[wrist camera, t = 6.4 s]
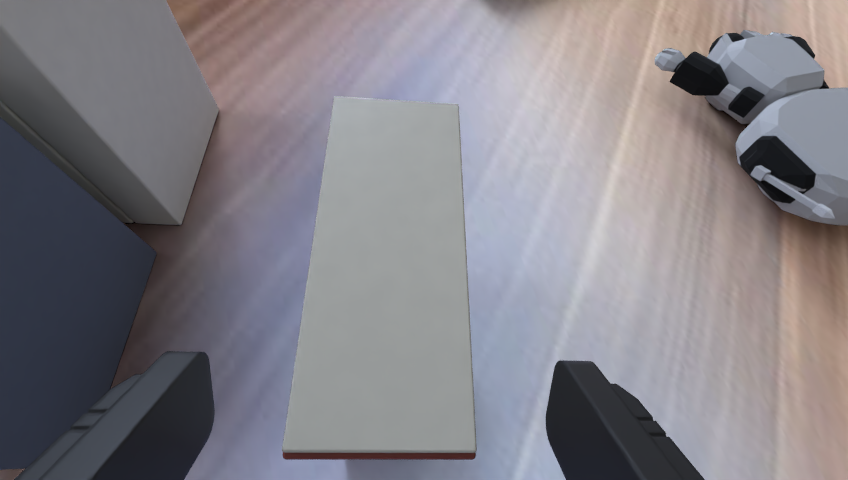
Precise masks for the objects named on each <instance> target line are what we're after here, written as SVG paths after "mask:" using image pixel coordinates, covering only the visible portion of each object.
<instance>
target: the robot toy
mask: <svg viewBox="0 0 848 480" xmlns="http://www.w3.org/2000/svg"><path fill="white" fill-rule="evenodd" d="M814 57H815V54H814V53H813V51H812V50H811V48H810V47H809V45H808V44H807V42H806V41H805V40H804V39H802V38H801V37H795V36H792V35H790V34H782V33H781V34H779V33H775V32H772V33H770V34H769V35H762V34H760V33H758V32H754V31H747V30H743V32H742V33H741V34H740V35H739V34H737V33H726V34H724V35H722V36H721V37H719V38H717V39H716V40H715V41H714V42H713V43H712V45H711V47H710V50H709V55H708V56H707V57H705V56H703V55H701V54H699V53H697V52H693V53H691V54H690V55H689V56H688V57H687V58H685V57H684V56H683V54H682V53H681V52H680V51H678V50H675V49H672V48H668V49H664V50H663V51H662V52H660V53H659V54H658V55H657V56H656V58H655V65H657V66H658V67H659V68H660V69H661V70H664V71H671V72H675V74H674V75H673V77H672V79H671V80H670V82H671V83H673V84H675V85H676V86H678V87H680V88H682V89H683V90H685V91H687V92H689V93H690V94H692V95H704V96H706V97H705V98H706V99H707V101H708V102H709V103H710V104H711V105H713V106H714V107H715V108H716V109H717V110H724V111H725V112H726V113H728V114H729V115H730V116H731V117H733V118H734V119H736V120H737V121H738V122H740V123H741V124H749V125H748V126H747V127H746V128H745V130H744V131H743V132H742V133H741V134H740V135H739V137H738V139H737V142H736V144H735V145H736V152H737V159H738V164H739V165H740V166H741V167H742V168H743V169H744V170H745V171H746V172H747V173H748V174H749V175H750V177H751V178H752V179H753V180H754V181H755V182H756V183H757V184H758V187H759V189H760V190H761V191H762V193H763V194H764V195H766V196H767V197H768V198H769V199H770V200H772V201H774V202H775V203H776V204H777V205H778V206H779V207H780V208H781V209H782V210H783V211H786V212H789V213H791V214H794V215H797V216H799V217H802V218H805V219H807V220H810V221H814V222H820V223H826V224H833V225H848V88H831V89H829V87H828V86H827V84H826V82H825V81H824V69H823V68H822V67H821V66H820V65H819V64H818V63H817V62H816V61H815V60H814Z"/></svg>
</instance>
